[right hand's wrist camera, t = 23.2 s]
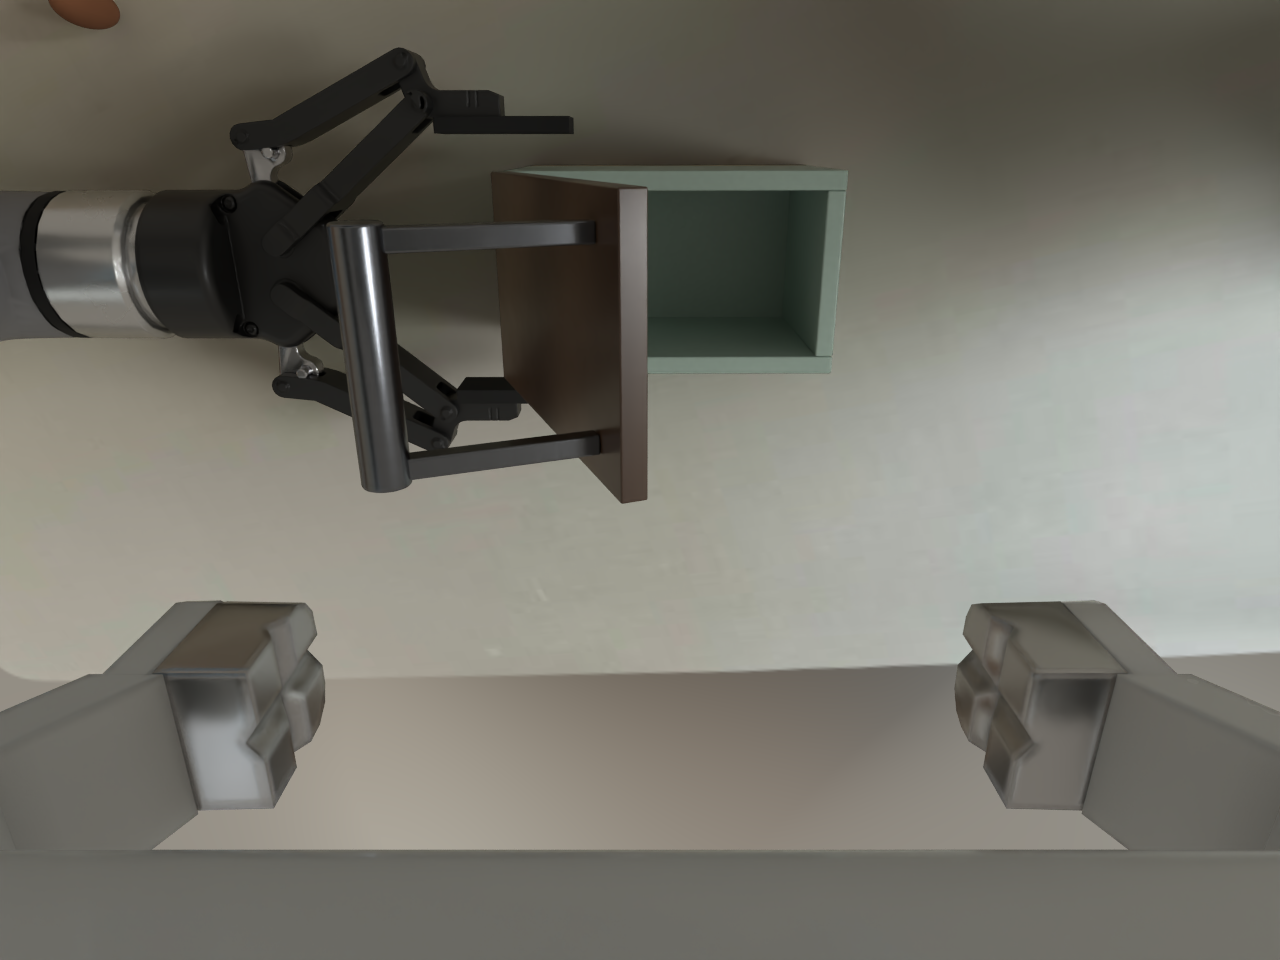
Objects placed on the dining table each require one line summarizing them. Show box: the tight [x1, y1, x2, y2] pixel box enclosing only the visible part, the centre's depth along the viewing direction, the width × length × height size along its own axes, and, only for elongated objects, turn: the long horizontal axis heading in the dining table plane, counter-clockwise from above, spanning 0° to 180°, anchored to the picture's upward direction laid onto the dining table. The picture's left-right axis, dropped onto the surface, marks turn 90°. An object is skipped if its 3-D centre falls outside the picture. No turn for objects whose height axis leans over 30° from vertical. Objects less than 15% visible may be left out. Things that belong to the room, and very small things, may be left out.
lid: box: [326, 171, 648, 504], centre depth 31 cm, size 17×10×9 cm
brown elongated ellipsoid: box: [48, 0, 120, 29], centre depth 43 cm, size 2×2×5 cm
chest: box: [507, 165, 848, 374], centre depth 45 cm, size 16×10×11 cm, turn 90°
